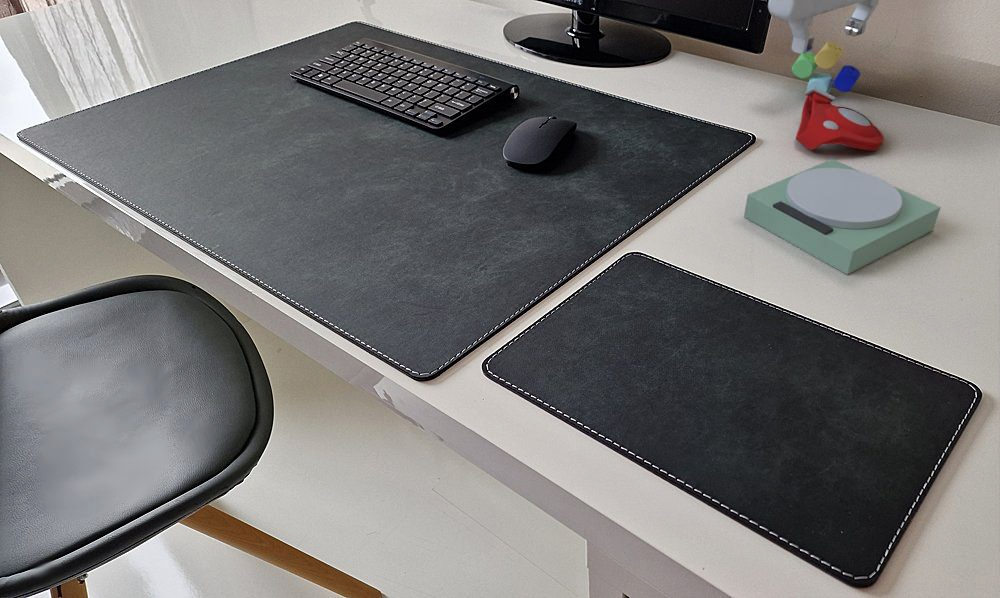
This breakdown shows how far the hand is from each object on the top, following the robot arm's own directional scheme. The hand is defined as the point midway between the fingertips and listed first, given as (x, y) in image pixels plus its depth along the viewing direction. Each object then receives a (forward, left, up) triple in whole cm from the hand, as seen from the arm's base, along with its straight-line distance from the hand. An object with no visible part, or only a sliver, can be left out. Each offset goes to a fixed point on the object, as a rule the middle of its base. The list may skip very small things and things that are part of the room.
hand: (827, 42), depth 95 cm
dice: (0, 0, -7) cm, 7 cm away
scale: (+23, +21, -6) cm, 32 cm away
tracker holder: (+8, +9, -7) cm, 13 cm away
